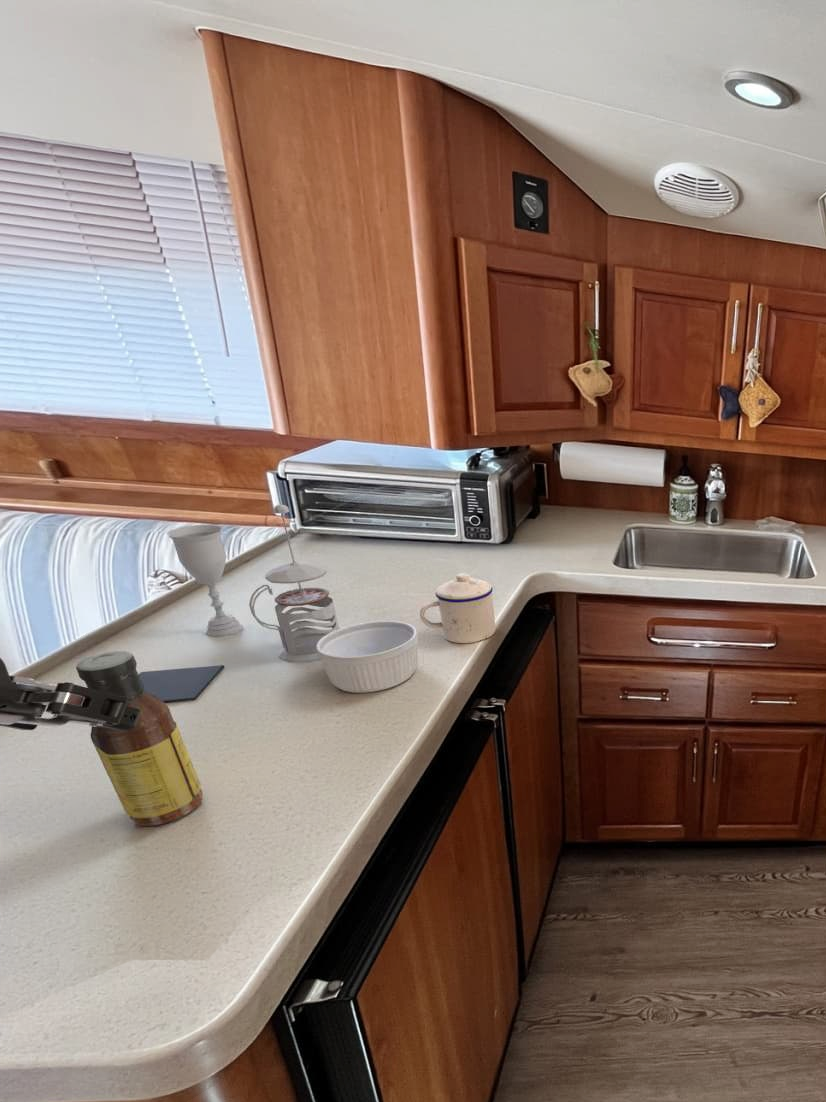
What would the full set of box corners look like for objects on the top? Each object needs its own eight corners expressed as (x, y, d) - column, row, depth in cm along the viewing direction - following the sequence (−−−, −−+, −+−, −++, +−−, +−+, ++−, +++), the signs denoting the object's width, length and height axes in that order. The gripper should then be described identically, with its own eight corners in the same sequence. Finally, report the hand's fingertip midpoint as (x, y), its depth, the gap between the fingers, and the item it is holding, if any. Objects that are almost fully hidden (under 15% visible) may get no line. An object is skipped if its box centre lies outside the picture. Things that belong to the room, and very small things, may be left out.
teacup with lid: (490, 619, 123) (484, 563, 118) (502, 638, 116) (496, 579, 112) (420, 632, 116) (410, 572, 111) (428, 652, 109) (418, 590, 105)
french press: (357, 650, 108) (327, 507, 98) (272, 671, 100) (229, 518, 90) (340, 630, 114) (310, 494, 104) (258, 649, 106) (217, 503, 96)
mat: (103, 708, 88) (102, 706, 88) (142, 674, 96) (141, 671, 96) (195, 700, 91) (194, 697, 91) (224, 667, 100) (223, 664, 100)
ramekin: (322, 668, 102) (313, 629, 99) (416, 650, 110) (410, 613, 107) (328, 707, 92) (318, 665, 90) (430, 684, 100) (423, 645, 97)
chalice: (197, 626, 111) (166, 528, 104) (247, 617, 116) (220, 522, 109) (199, 642, 106) (166, 540, 99) (251, 632, 111) (223, 534, 104)
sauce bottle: (163, 791, 75) (106, 640, 67) (220, 792, 75) (169, 643, 67) (110, 831, 68) (40, 671, 61) (172, 833, 69) (110, 674, 61)
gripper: (18, 632, 49) (179, 684, 64) (-197, 626, 48) (19, 681, 63) (-28, 728, 47) (151, 759, 62) (-259, 726, 45) (-17, 758, 60)
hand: (84, 720), depth 62 cm, fingers open, 8 cm apart
